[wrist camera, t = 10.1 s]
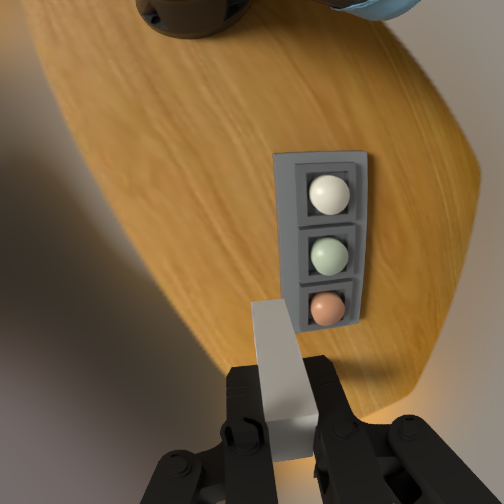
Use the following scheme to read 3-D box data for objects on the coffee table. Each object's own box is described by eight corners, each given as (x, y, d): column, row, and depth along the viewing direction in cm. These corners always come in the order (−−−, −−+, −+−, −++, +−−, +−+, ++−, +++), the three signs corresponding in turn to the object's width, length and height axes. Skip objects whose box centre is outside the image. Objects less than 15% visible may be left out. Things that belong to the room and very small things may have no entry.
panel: (272, 153, 36) (276, 155, 33) (360, 150, 36) (372, 152, 33) (282, 327, 46) (285, 340, 43) (354, 316, 46) (361, 328, 43)
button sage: (309, 237, 38) (313, 243, 36) (342, 233, 38) (349, 240, 36) (309, 269, 40) (313, 277, 37) (341, 265, 40) (347, 273, 38)
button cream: (307, 174, 35) (312, 177, 33) (342, 173, 35) (349, 175, 33) (308, 211, 37) (313, 216, 34) (342, 208, 37) (349, 213, 35)
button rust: (309, 291, 41) (313, 300, 39) (340, 287, 41) (346, 295, 39) (309, 318, 43) (312, 328, 40) (338, 314, 43) (343, 323, 41)
